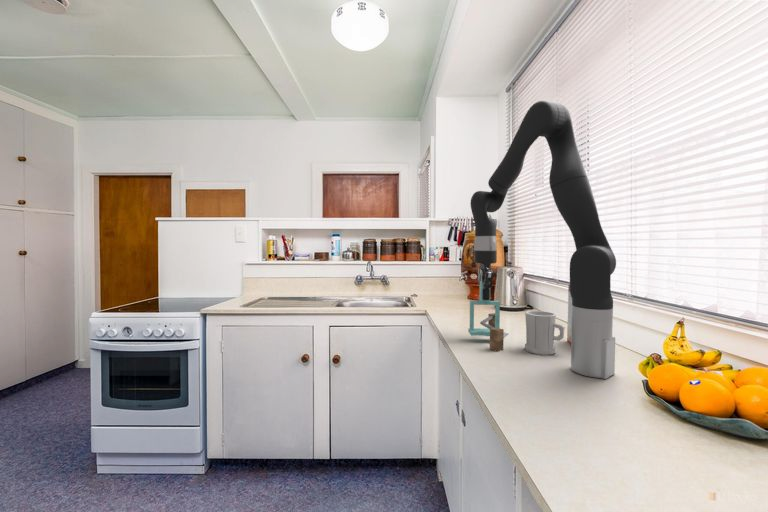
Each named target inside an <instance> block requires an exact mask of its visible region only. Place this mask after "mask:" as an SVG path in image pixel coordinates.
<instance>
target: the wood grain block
mask: <svg viewBox="0 0 768 512" xmlns="http://www.w3.org/2000/svg"><path fill="white" fill-rule="evenodd" d="M491 315H494V318H492V319H491V320H489V321H487V323H488V325H490V326H492V327H494V328H492V329H490V336H489V350H490V349H492V350H491V351H494V350H496V351H495V352H501V351H503V350H504V338H503V335H504V333H505V332H504V331H505V330H504V329H503V328H500V326H501V325H500V324H499V328H495V312H492V313H488V317H490V316H491ZM488 317H487V318H488ZM487 329H489V328H487ZM500 350H501V351H500Z"/></svg>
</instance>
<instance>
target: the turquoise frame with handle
mask: <svg viewBox="0 0 768 512" xmlns="http://www.w3.org/2000/svg"><path fill="white" fill-rule="evenodd" d="M482 284H483V283H482V282H481V281H480V286H479V298H478V299H479V300H469V328H468V333H469V335H470V336H483V337H484V336H486V337H490V329H488V328H475V306H476V305H477V306H479V305H480V306H494V308H495V309H494V313H495V328H499V324H500V316H501V315H500V312H501V311H500V309H501V308H500V306H501V305H500V304H501V303H500V302H501V301H500V300H491V298H490V299H489V300H483V288H482V287H483V286H482ZM486 284H488V282H487V283H486Z"/></svg>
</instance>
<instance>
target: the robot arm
mask: <svg viewBox="0 0 768 512" xmlns="http://www.w3.org/2000/svg"><path fill="white" fill-rule="evenodd" d="M539 137H541V138H542V137H544V138H545V139H546V142H547V145H548V148H549V150H550V154H551V166H550V172H549V179H548V180H549V187H550V191H551V194H552V198H553V200H554V203H555V205H556V207H557V210H558V212H559V213H560V215H561V217H562V219H563V221H564V222H565V224H566V225H567V227H568V228H569V230H570V233H571V235H572V238H573V241H574V246H575V251H574V252H573V254H572V255H571V257H570V260H569V261H570V262H569V282H570V294H571V297H572V338H571V343H570V344H571V345H570V346H571V347H570V348H571V349H570V355H571V356H570V370H571V371H572V372H574V373H575V374H579V375H582V376H585V377H591V378H597V379H598V378H599V379H603V380H607V379H608V378H610V377H612V376H613V375H615V371H616V370H615V369H616V368H615V367H616V365H615V363H616V337H615V336H613V327H614V326H613V322H614V321H613V320H614V319H613V318H614V299H613V296H612V291H611V276H612V274H613V273H614V272H615V269H616V266H617V260H616V256H615V254H614V252H613V249H612V247H611V245H610V244H609V242H608V238H607V236H606V234H605V232H604V229H603V227H602V225H601V222H600V217H599V213H598V209H597V205H596V201H595V198H594V193H593V189H592V187H591V184H590V180H589V177H588V174H587V172H586V169H585V167H584V163H583V161H582V157H581V153H580V151H579V149H578V146H577V142H576V141H577V140H576V136H575V132H574V127H573V121H572V118H571V113H570V111H569V109H568V108H567V106H565V105H564V104H562V103H559V102H554V101H549V100H539V101H536V102H534V103H533V104H532V105H531V106H530V107H529V109H528V110H527V111H526V113H525V115H524V117H523V118H522V121H521V123H520V125H519V126H518V129H517V131H516V133H515V135H514V137H513V139H512V141H511V143H510V146H509V147H508V150H507V152H506V153H505V155H504V156H503V159H502V160H501V162H500V163H499V165H498V166H497V167H496V169H495V170H494V171H493V173H492V174H491V176H490V177H489V179H488V187H489V189H491V191H486V190H485V191H483V190H476V191H475V192H474V193H473V194H472V196H471V198H470V210H471V214H472V218H473V221H474V227H475V228H474V231H475V233H474V236H475V237H474V241H473V244H474V245H473V251H474V252H473V257H474V258H473V263H475V264H479V267H478V269H477V270H476V272H477V280H478V281H477V283H478V286H479V287H480V281H481V282H482V283H483V284H482V286H483V287H482V288H483V300H489V299H490V300H491V289H492V288H493V281H494V274H495V273H494V271H493V269H492V266H491V264H493V265H494V264H496V263H497V257H498V256H497V254H498V253H497V250H498V249H497V248H498V246H497V245H498V241H497V222H496V220H495V219H492V218H490V217H489V215H488V213H495V212H497V211H499V209H501V207H502V206H503V203H504V201H505V199H506V197H507V194H508V191H509V189H510V188H511V187H512V185H513V184H514V183H515V182H516V180H517V179H518V177H519V176H520V174H521V172H522V170H523V167H524V162H525V158H526V156H527V153H528V150H529V149H530V147H531V146H533V144H534V143H535V141H537V139H539ZM487 282H488V284H486V283H487Z"/></svg>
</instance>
